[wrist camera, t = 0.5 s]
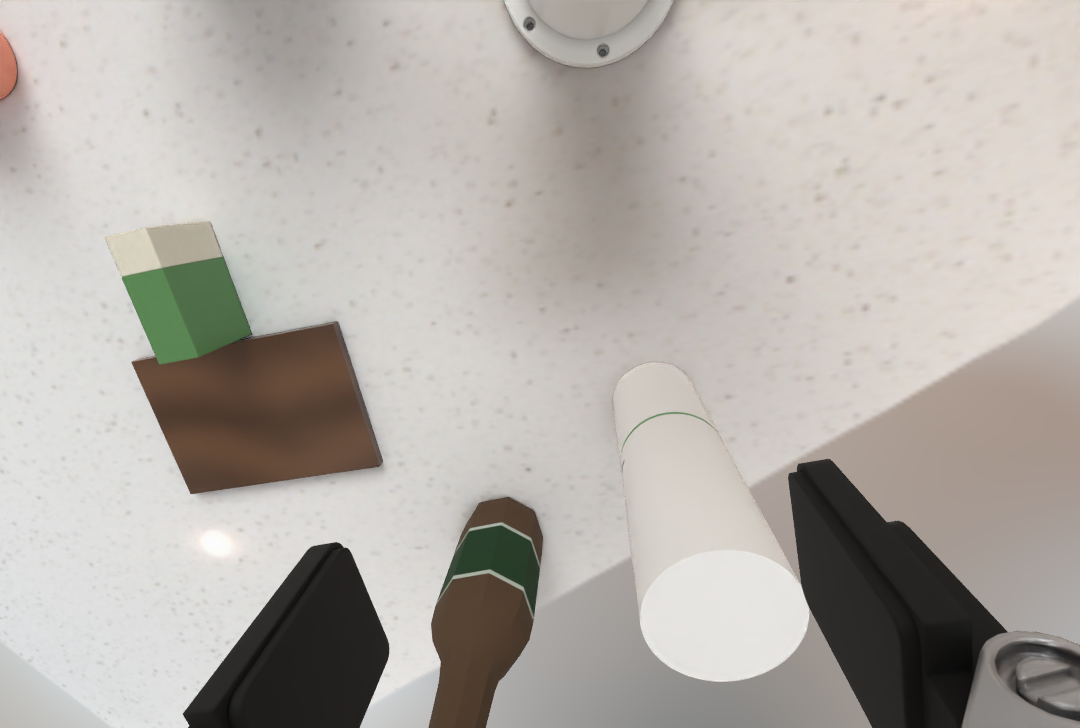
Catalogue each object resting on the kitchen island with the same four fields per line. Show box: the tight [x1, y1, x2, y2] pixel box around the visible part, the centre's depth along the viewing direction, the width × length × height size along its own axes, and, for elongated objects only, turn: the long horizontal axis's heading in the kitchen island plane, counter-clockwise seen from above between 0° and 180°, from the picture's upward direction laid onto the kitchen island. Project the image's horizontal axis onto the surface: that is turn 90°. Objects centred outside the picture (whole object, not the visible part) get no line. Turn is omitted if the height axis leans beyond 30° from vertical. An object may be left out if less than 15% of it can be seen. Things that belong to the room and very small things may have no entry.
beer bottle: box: [429, 497, 543, 728], centre depth 41 cm, size 8×8×24 cm
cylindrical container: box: [613, 362, 809, 682], centre depth 35 cm, size 7×7×25 cm
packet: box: [105, 222, 252, 364], centre depth 43 cm, size 10×4×7 cm, turn 11°
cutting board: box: [132, 322, 383, 494], centre depth 50 cm, size 14×20×1 cm
